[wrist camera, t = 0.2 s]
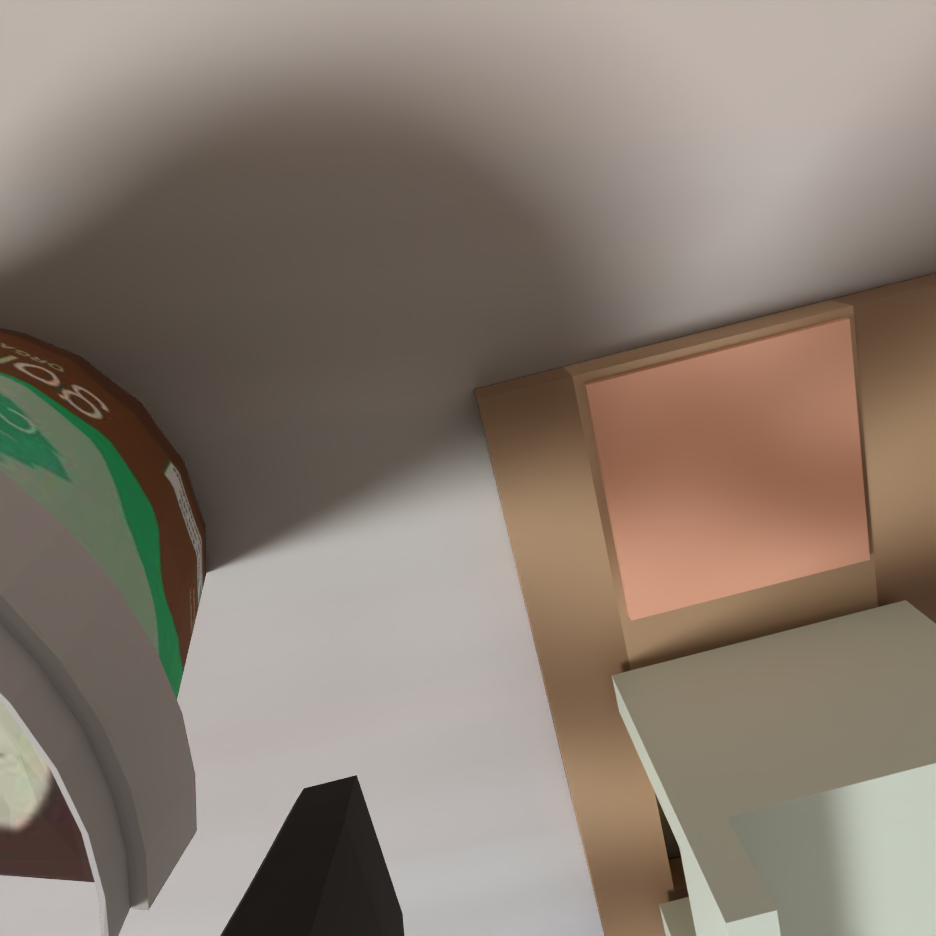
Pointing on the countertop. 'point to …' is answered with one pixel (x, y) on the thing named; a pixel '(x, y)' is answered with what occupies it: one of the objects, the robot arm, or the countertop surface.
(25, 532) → the food container
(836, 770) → the sliding cover
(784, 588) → the puzzle board
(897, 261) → the countertop surface
